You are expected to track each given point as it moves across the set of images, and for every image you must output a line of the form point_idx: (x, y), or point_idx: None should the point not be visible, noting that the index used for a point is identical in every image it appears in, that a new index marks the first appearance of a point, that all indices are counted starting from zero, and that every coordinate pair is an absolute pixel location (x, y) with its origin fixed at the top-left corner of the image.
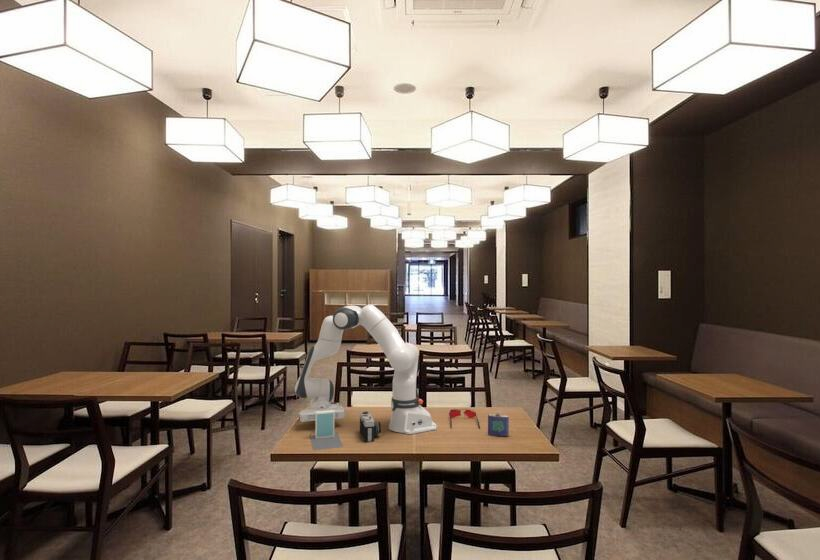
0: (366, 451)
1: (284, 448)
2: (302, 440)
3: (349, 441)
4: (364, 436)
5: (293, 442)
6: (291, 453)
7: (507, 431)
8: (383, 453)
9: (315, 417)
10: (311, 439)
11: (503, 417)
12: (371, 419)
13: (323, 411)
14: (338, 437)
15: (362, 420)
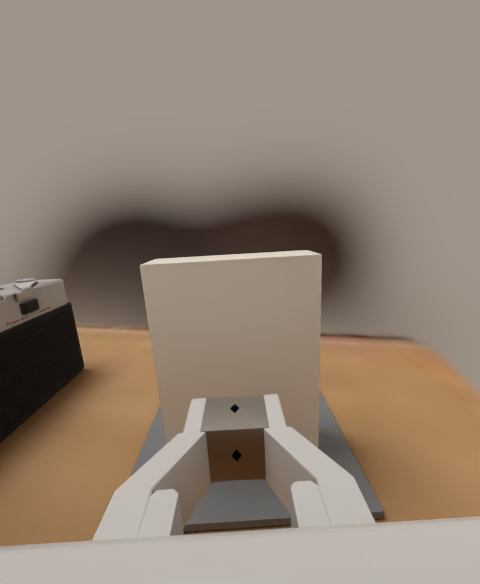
0: (130, 333)
1: (432, 365)
2: (396, 431)
3: (128, 388)
4: (70, 352)
5: (440, 413)
6: (368, 339)
7: None
8: (98, 326)
9: (317, 305)
10: (331, 416)
11: None
12: (12, 284)
13: (244, 257)
14: (159, 420)
15: (3, 321)
